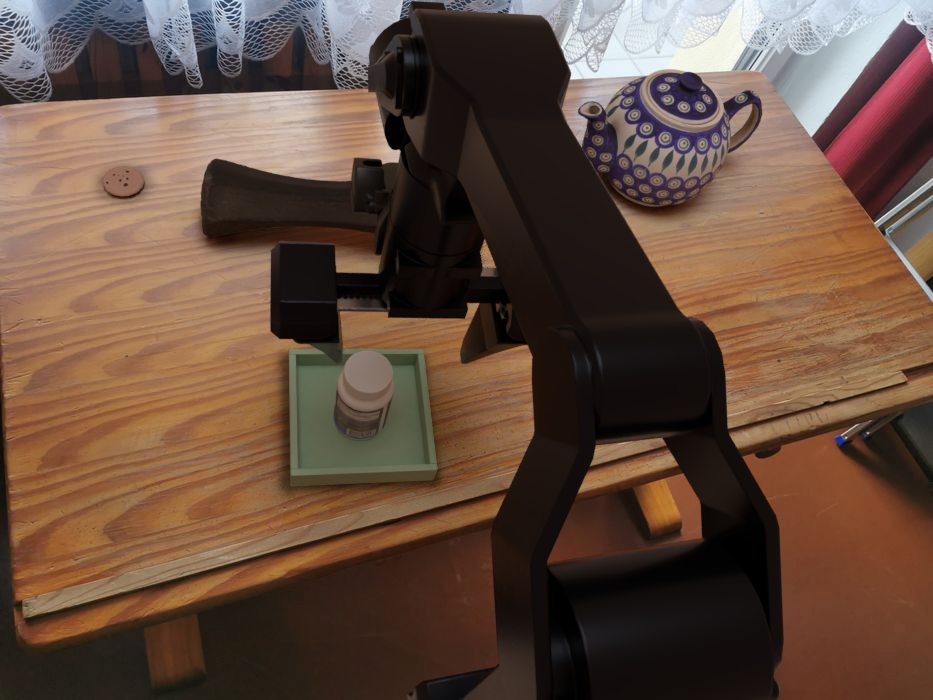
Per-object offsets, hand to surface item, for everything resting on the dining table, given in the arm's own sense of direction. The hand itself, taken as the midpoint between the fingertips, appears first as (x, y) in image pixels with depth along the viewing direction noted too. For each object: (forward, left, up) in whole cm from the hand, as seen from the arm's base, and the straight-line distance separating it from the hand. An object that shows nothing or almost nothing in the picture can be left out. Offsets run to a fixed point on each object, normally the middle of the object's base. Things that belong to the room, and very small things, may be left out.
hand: (402, 358), depth 57 cm
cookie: (+29, +24, -14) cm, 40 cm away
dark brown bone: (+23, +2, -15) cm, 28 cm away
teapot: (+35, -35, -15) cm, 51 cm away
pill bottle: (+2, +2, -14) cm, 15 cm away
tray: (+2, +2, -14) cm, 15 cm away
